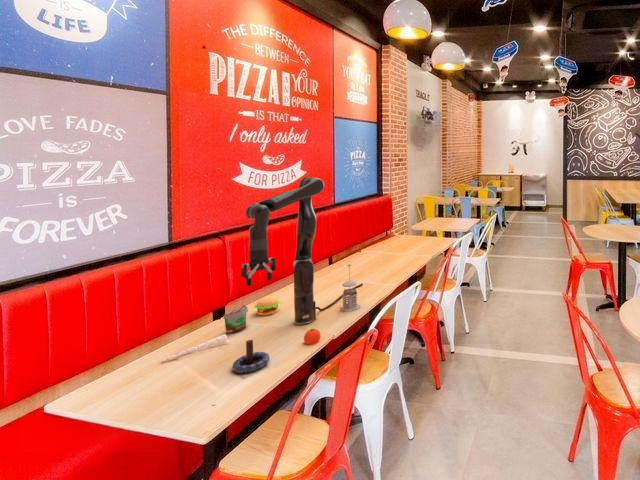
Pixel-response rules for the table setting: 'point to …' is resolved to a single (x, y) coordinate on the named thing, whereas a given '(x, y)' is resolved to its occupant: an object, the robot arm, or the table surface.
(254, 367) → the ring
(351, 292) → the french press
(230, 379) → the table surface
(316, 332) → the clementine
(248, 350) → the peg stand
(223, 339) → the unicorn horn
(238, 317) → the food container
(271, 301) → the hamburger
